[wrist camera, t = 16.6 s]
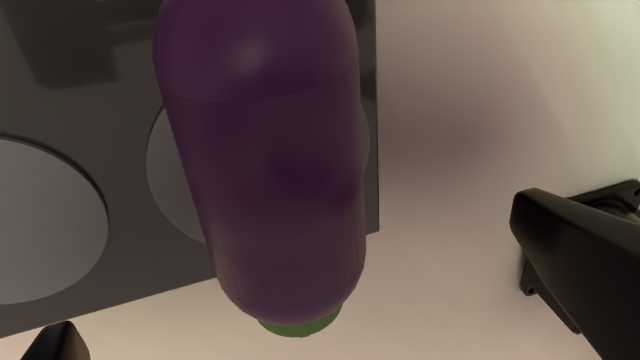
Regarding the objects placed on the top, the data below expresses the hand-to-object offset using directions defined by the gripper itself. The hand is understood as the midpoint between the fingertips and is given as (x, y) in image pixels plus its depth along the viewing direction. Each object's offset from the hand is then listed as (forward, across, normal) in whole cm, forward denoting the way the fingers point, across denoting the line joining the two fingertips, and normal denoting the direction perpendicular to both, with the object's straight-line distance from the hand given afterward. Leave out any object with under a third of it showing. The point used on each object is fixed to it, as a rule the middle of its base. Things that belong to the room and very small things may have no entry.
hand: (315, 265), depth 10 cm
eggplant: (+6, 0, 0) cm, 6 cm away
